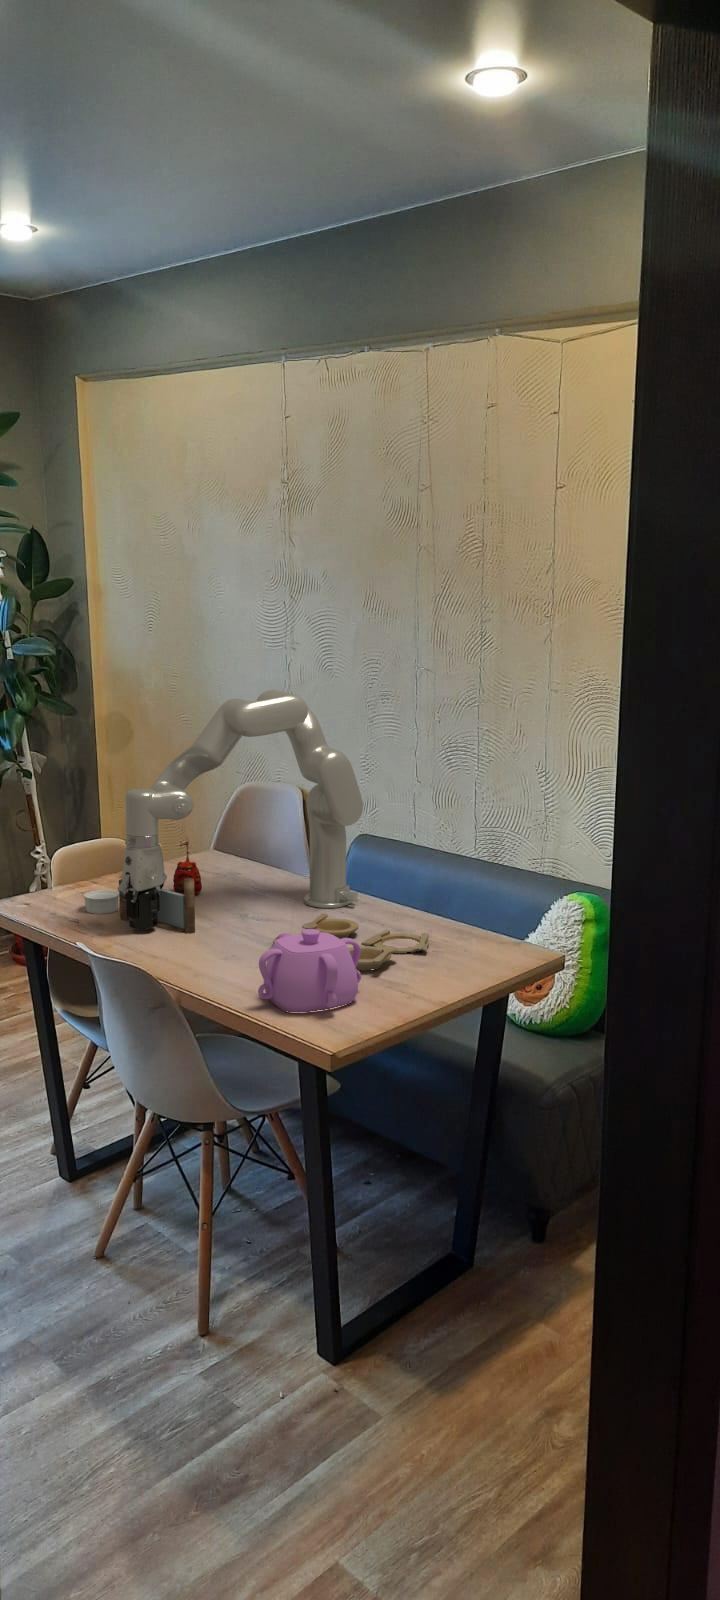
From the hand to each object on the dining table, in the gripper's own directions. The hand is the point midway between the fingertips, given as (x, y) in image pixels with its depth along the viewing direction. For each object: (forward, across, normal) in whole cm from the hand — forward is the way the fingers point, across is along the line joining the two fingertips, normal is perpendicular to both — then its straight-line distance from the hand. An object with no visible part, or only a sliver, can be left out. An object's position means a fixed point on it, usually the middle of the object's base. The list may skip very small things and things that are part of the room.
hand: (143, 913), depth 268 cm
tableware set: (+4, +15, -49) cm, 52 cm away
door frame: (+4, +5, 0) cm, 7 cm away
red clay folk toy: (+4, +32, +13) cm, 34 cm away
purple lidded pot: (+4, -15, -58) cm, 60 cm away
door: (+4, +8, 0) cm, 8 cm away
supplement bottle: (+3, 0, 0) cm, 3 cm away
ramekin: (+5, +8, +21) cm, 23 cm away
